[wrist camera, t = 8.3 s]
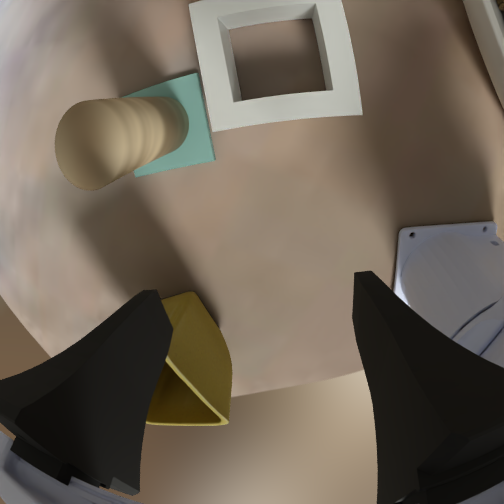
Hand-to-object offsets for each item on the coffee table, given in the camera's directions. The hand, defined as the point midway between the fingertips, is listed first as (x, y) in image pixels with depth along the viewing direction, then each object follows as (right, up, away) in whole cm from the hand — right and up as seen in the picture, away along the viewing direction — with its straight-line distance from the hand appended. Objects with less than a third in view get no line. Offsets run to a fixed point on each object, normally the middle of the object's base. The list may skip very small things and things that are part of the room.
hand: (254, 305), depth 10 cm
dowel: (-6, +10, +7) cm, 14 cm away
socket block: (+1, +14, +4) cm, 14 cm away
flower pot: (-6, -4, +15) cm, 17 cm away
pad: (-6, +10, +7) cm, 14 cm away
